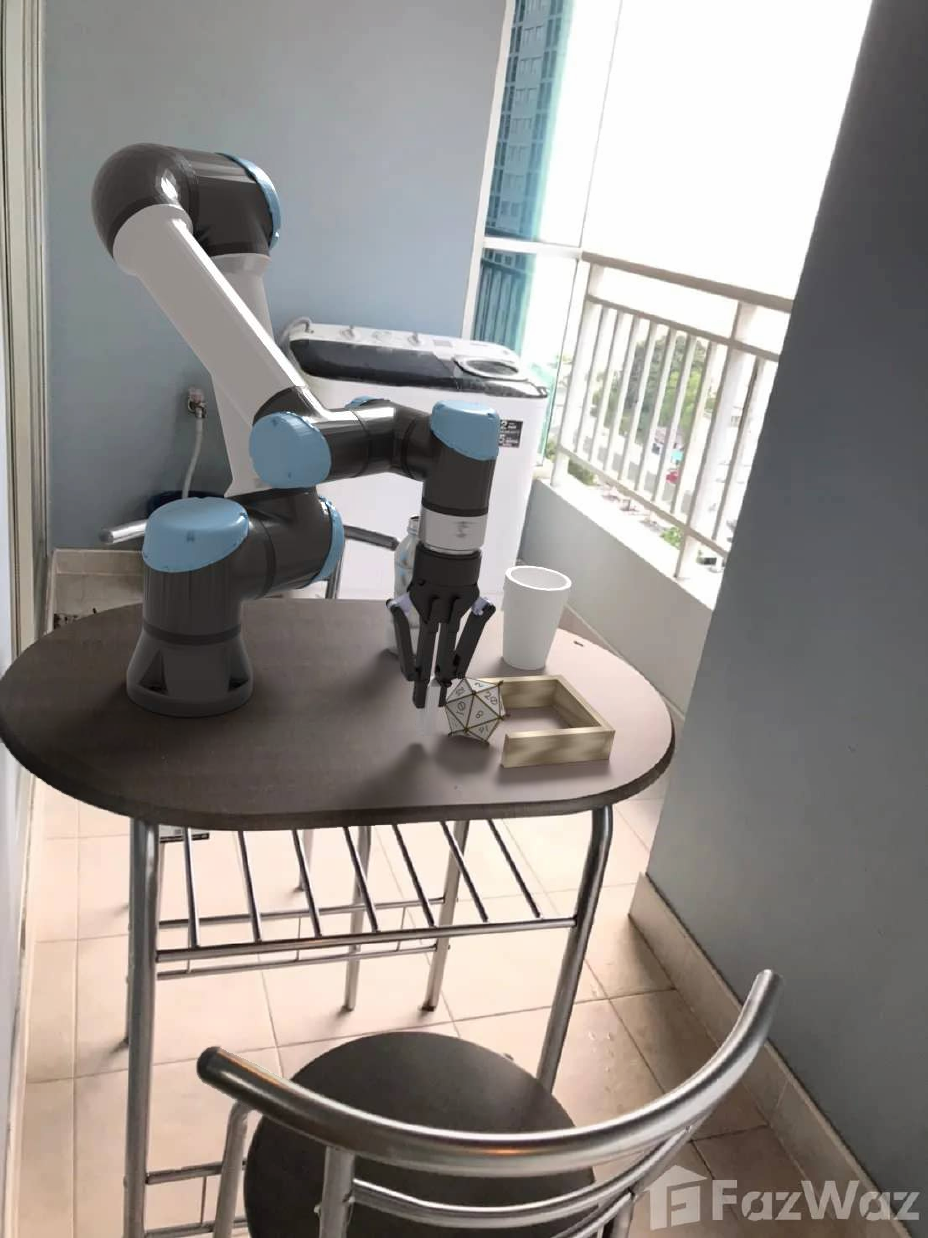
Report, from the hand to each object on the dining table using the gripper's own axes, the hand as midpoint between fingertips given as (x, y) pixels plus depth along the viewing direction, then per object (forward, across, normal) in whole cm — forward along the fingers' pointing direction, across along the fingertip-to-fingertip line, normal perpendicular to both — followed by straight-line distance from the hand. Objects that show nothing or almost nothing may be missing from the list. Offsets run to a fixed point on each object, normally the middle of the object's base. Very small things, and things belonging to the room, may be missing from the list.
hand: (424, 729), depth 121 cm
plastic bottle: (+2, +5, +25) cm, 25 cm away
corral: (+2, +14, +1) cm, 14 cm away
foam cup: (+2, +22, +21) cm, 31 cm away
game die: (+2, +6, 0) cm, 7 cm away
